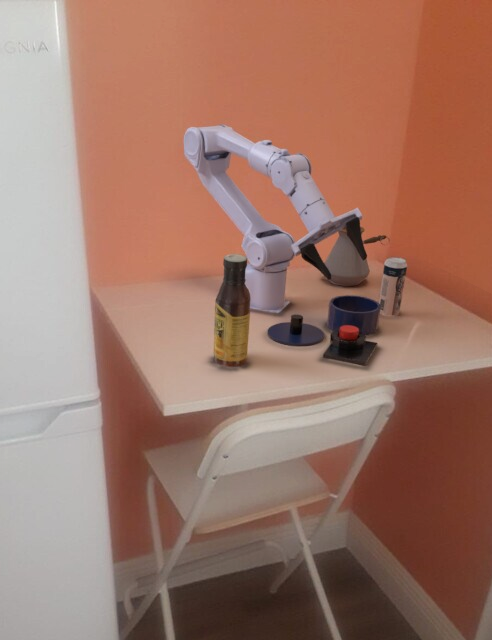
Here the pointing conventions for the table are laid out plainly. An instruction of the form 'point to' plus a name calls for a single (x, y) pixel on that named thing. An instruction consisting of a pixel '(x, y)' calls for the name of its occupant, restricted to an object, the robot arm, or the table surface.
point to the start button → (348, 332)
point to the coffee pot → (348, 260)
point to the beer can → (392, 286)
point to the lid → (295, 332)
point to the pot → (354, 313)
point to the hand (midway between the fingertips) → (347, 268)
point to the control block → (350, 349)
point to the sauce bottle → (232, 314)
